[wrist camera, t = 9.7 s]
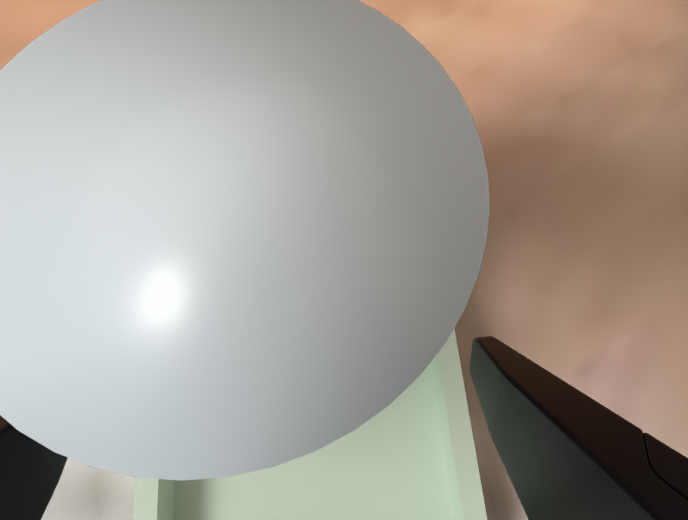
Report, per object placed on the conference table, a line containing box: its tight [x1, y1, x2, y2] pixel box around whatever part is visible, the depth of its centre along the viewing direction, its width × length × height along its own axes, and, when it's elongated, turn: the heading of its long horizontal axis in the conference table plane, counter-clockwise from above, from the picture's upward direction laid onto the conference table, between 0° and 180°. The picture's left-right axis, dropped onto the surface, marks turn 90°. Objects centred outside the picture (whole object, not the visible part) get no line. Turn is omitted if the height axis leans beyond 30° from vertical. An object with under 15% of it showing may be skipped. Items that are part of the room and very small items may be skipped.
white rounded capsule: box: [0, 0, 490, 481], centre depth 11 cm, size 6×6×13 cm
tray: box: [133, 329, 487, 520], centre depth 17 cm, size 20×12×2 cm, turn 5°
